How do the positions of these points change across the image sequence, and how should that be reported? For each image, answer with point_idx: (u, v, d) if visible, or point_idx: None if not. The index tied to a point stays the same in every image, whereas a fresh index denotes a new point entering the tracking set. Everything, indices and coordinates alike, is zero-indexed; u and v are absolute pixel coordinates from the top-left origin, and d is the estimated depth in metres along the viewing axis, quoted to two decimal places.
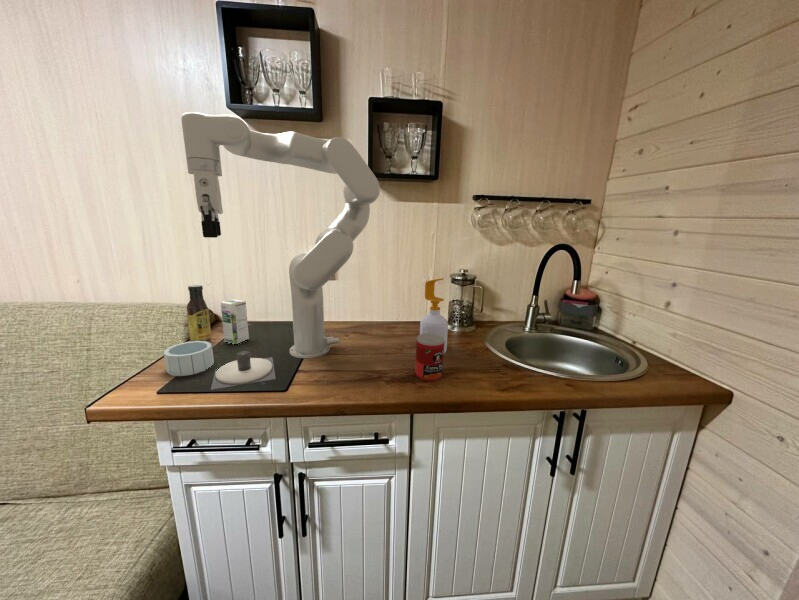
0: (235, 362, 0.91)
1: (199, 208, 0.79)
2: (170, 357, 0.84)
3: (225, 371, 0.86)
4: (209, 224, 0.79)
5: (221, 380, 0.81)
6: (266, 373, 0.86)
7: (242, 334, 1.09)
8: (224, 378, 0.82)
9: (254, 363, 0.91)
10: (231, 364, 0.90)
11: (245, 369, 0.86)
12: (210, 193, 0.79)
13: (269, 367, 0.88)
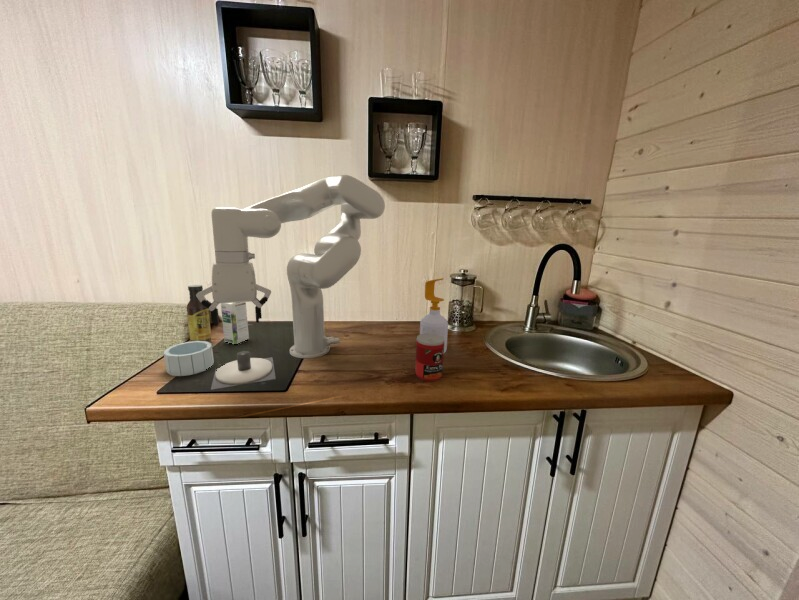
0: (235, 362, 0.91)
1: (255, 297, 0.83)
2: (170, 357, 0.84)
3: (225, 371, 0.86)
4: (260, 309, 0.86)
5: (221, 380, 0.81)
6: (266, 373, 0.86)
7: (242, 334, 1.09)
8: (225, 378, 0.82)
9: (254, 363, 0.91)
10: (231, 364, 0.90)
11: (245, 369, 0.86)
12: None
13: (269, 367, 0.88)
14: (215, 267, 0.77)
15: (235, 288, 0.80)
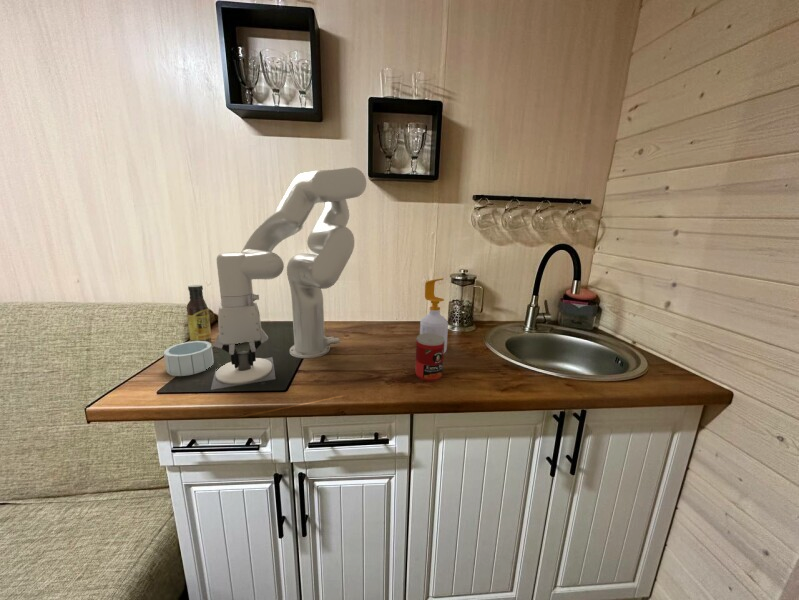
0: None
1: (260, 336, 0.86)
2: (170, 357, 0.84)
3: (225, 371, 0.86)
4: (254, 352, 0.88)
5: (221, 380, 0.81)
6: (266, 373, 0.86)
7: None
8: (225, 378, 0.82)
9: (254, 363, 0.91)
10: (231, 364, 0.90)
11: (245, 369, 0.86)
12: None
13: (269, 367, 0.88)
14: (221, 311, 0.80)
15: (241, 329, 0.83)
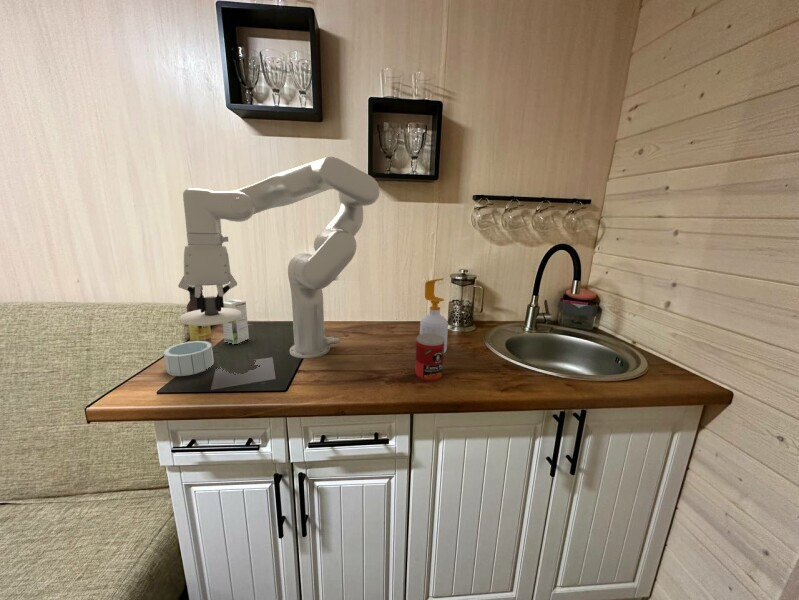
0: None
1: (229, 280, 0.83)
2: (170, 357, 0.84)
3: (190, 315, 0.82)
4: (222, 298, 0.85)
5: (185, 322, 0.78)
6: (234, 318, 0.83)
7: (242, 334, 1.09)
8: (189, 320, 0.78)
9: (222, 311, 0.88)
10: (197, 311, 0.86)
11: (212, 314, 0.83)
12: (229, 265, 0.85)
13: (238, 314, 0.86)
14: (187, 249, 0.77)
15: (208, 270, 0.80)
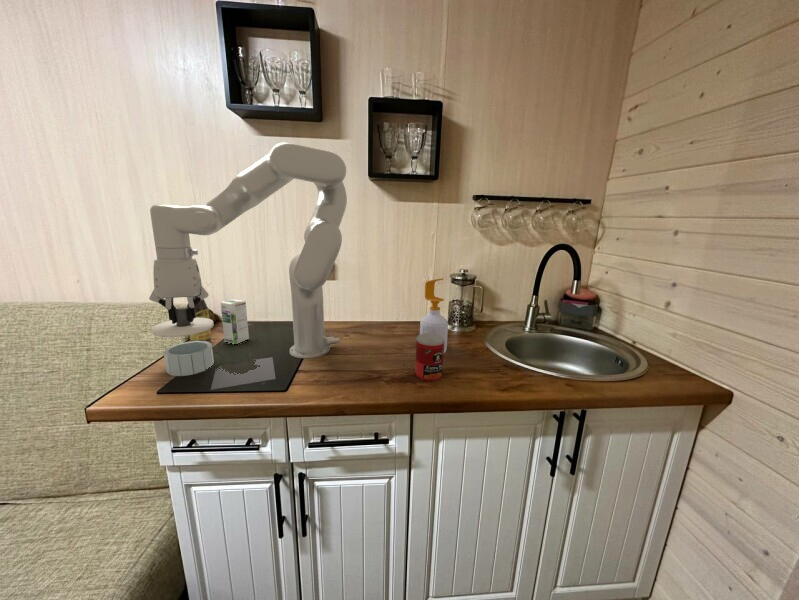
0: None
1: (199, 292, 0.85)
2: (170, 357, 0.84)
3: (163, 326, 0.85)
4: (194, 309, 0.87)
5: (155, 333, 0.81)
6: (204, 329, 0.85)
7: (242, 334, 1.09)
8: (159, 332, 0.81)
9: (195, 321, 0.90)
10: (171, 322, 0.89)
11: (183, 325, 0.86)
12: (200, 277, 0.87)
13: (209, 324, 0.88)
14: (155, 263, 0.80)
15: (177, 283, 0.82)
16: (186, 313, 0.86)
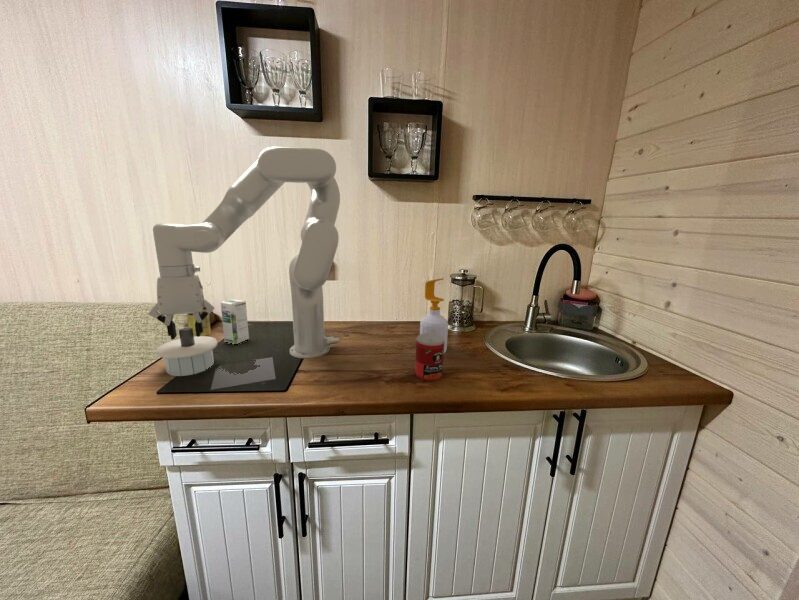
0: None
1: (202, 308, 0.86)
2: None
3: (167, 347, 0.87)
4: (201, 323, 0.89)
5: (161, 355, 0.82)
6: (208, 349, 0.87)
7: (242, 334, 1.09)
8: (164, 353, 0.83)
9: (199, 340, 0.92)
10: (176, 341, 0.91)
11: (188, 345, 0.87)
12: (202, 293, 0.88)
13: (213, 344, 0.89)
14: (159, 281, 0.81)
15: (180, 300, 0.83)
16: (190, 333, 0.87)
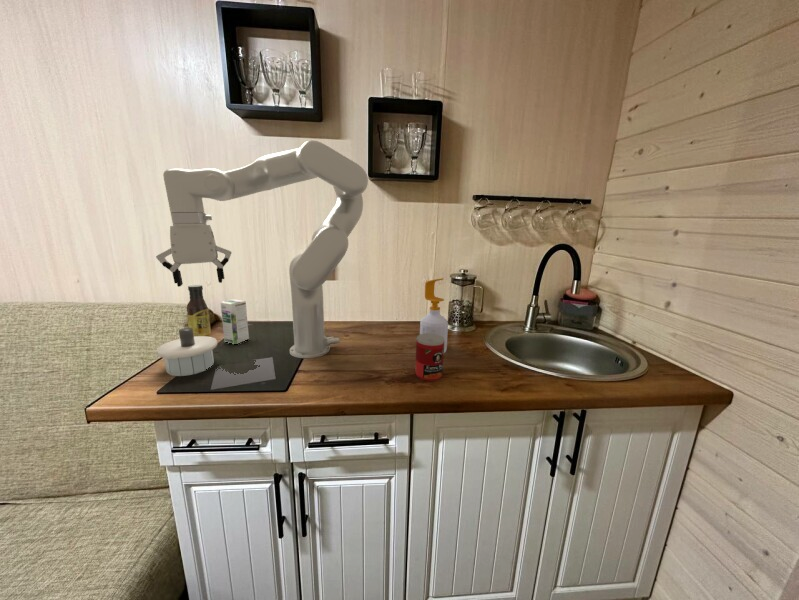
0: None
1: (215, 257, 0.86)
2: None
3: (167, 347, 0.87)
4: (222, 270, 0.89)
5: (161, 355, 0.82)
6: (208, 349, 0.87)
7: (242, 334, 1.09)
8: (164, 353, 0.83)
9: (199, 340, 0.92)
10: (176, 341, 0.91)
11: (188, 345, 0.87)
12: (215, 243, 0.88)
13: (213, 344, 0.89)
14: (172, 228, 0.81)
15: (194, 249, 0.83)
16: (190, 333, 0.87)
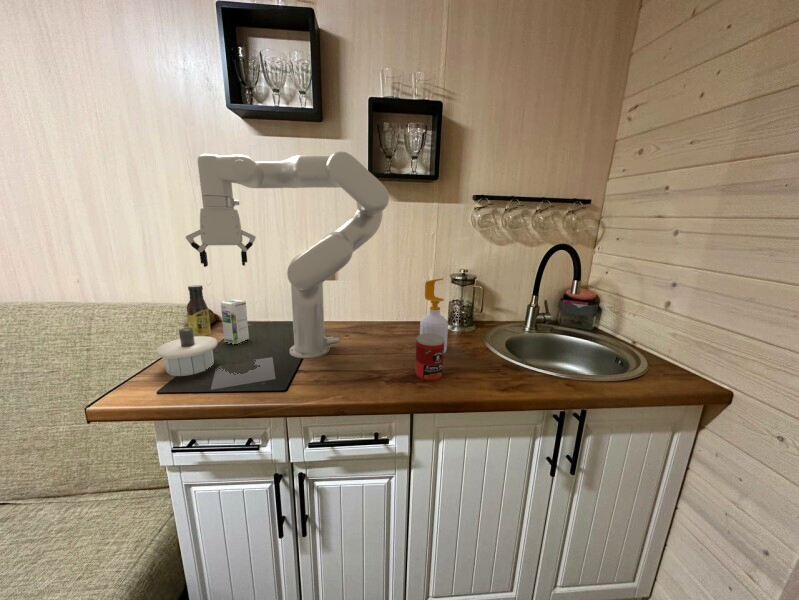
0: None
1: (240, 241, 0.90)
2: None
3: (167, 347, 0.87)
4: None
5: (161, 355, 0.82)
6: (208, 349, 0.87)
7: (242, 334, 1.09)
8: (164, 353, 0.83)
9: (199, 340, 0.92)
10: (176, 341, 0.91)
11: (188, 345, 0.87)
12: None
13: (213, 344, 0.89)
14: (202, 211, 0.85)
15: (221, 231, 0.87)
16: (190, 333, 0.87)
